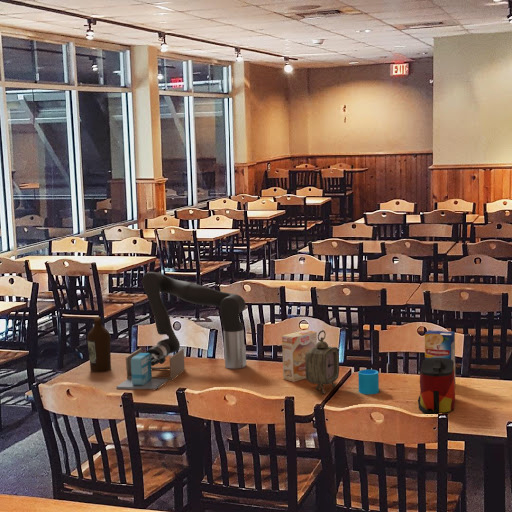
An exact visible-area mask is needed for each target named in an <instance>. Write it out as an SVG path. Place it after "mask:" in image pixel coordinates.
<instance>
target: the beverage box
mask: <svg viewBox="0 0 512 512" xmlns="http://www.w3.org/2000/svg"><path fill="white" fill-rule="evenodd" d="M428 358H447V359H451V360H453V361H454V368H455V369H456V332H455V331H450V330H433V329H432V330H431V329H428V330H427V331H425V333H424V360H425V359H428ZM454 376H455V377H456V372H455V373H454Z"/></svg>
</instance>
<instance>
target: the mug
mask: <svg viewBox="0 0 512 512" xmlns="http://www.w3.org/2000/svg"><path fill="white" fill-rule="evenodd" d="M357 373H358V376H357V377H358V381H357V382H358V393H359V394H361V395H362V394H363V395H376V394H379V393H380V388H379V387H380V384H379V383H380V379H379V371H378V370H376V369H361V370H359V371H357Z"/></svg>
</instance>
